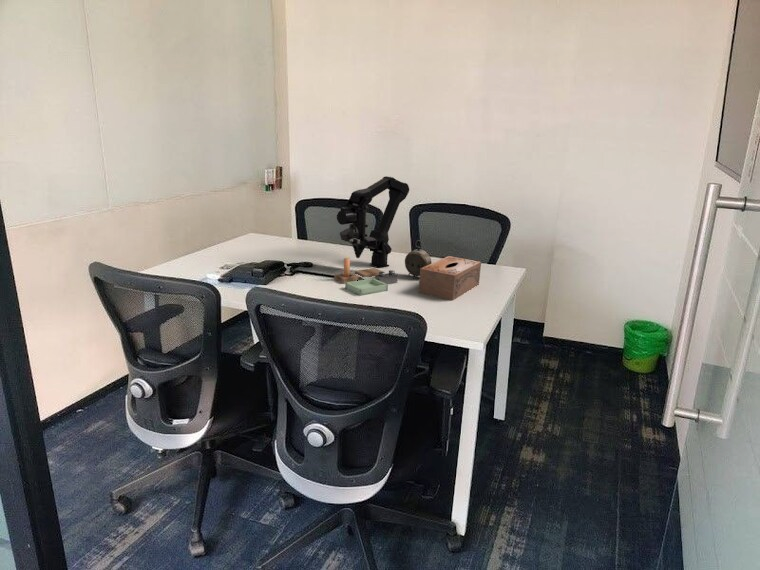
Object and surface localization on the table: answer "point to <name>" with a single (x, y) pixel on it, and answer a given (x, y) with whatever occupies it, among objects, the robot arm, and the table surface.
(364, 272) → the tan rectangular slab
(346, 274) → the dowel
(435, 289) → the tissue box cover
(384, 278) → the grey boxy piece
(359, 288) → the tray
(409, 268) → the alarm clock
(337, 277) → the socket block
